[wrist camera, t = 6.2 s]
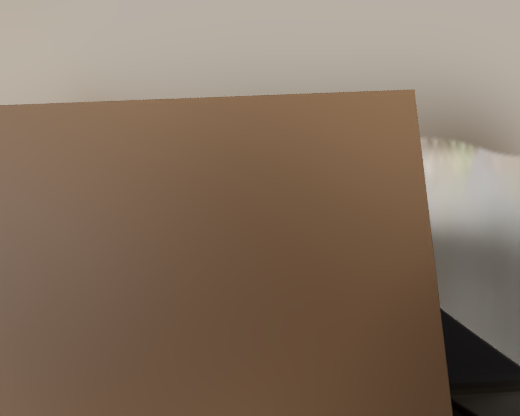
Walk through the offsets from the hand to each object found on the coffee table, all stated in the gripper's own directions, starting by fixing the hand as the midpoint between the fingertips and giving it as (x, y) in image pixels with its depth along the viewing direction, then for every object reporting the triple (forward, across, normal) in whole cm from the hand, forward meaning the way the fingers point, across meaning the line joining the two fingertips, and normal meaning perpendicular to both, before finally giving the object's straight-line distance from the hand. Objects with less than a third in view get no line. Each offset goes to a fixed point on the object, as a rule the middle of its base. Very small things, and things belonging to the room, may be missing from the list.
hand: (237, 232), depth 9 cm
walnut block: (+4, 0, +6) cm, 7 cm away
